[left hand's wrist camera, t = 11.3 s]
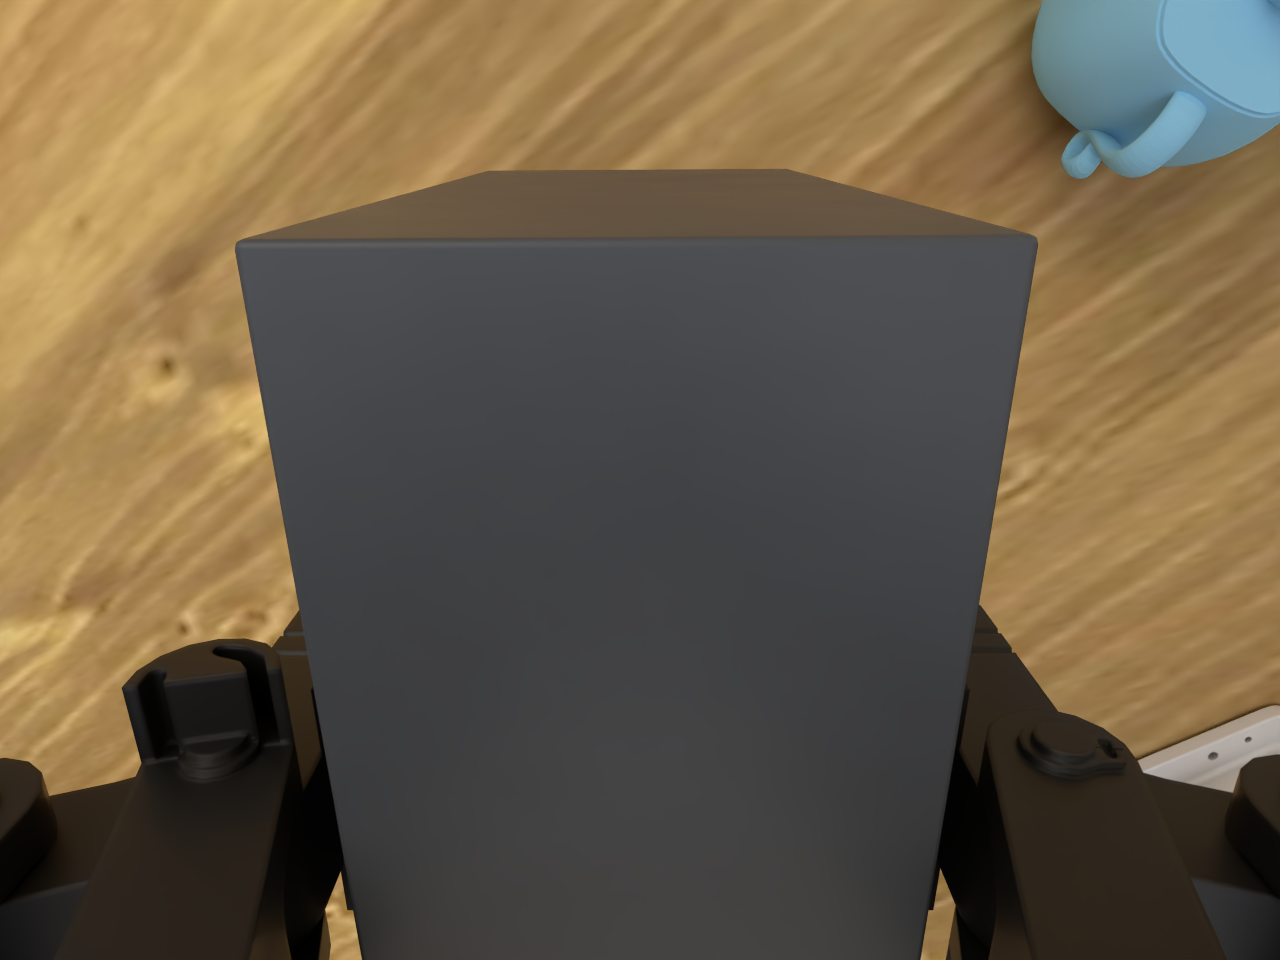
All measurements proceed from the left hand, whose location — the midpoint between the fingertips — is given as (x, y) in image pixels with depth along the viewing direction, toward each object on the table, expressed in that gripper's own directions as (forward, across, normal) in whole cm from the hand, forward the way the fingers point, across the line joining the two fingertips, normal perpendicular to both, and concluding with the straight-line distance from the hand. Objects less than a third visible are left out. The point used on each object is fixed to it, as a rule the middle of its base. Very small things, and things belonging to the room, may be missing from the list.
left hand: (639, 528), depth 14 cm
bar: (+1, 0, -35) cm, 35 cm away
